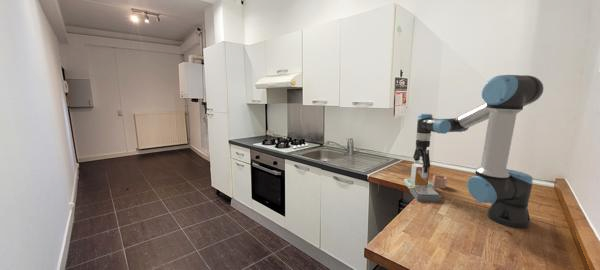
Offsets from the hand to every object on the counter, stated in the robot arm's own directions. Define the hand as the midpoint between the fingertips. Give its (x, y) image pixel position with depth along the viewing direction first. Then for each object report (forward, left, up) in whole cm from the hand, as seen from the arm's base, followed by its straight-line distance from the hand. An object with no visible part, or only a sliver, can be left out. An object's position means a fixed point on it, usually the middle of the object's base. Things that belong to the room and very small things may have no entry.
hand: (420, 174), depth 150 cm
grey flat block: (-15, +2, -8) cm, 17 cm away
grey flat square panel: (-15, +2, -5) cm, 16 cm away
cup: (+2, -13, -8) cm, 15 cm away
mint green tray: (0, 0, -8) cm, 8 cm away
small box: (0, 0, -8) cm, 8 cm away
